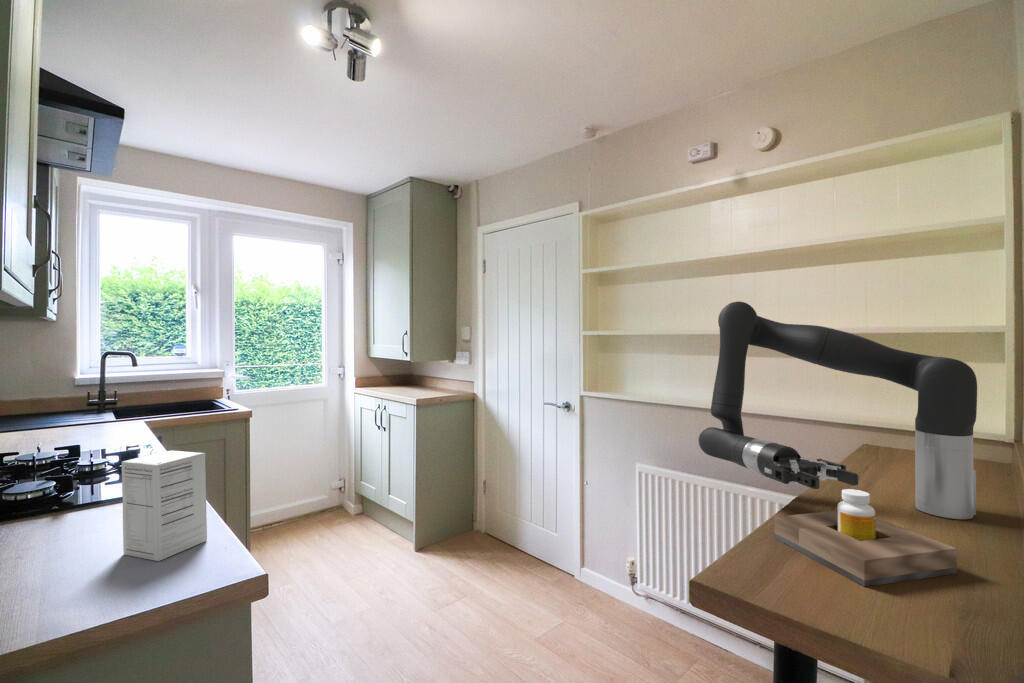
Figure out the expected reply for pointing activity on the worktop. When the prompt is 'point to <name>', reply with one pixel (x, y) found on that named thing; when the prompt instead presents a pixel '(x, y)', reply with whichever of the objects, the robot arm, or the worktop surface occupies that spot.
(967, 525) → the worktop surface
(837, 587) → the worktop surface
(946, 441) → the robot arm
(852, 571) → the socket block
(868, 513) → the supplement bottle
